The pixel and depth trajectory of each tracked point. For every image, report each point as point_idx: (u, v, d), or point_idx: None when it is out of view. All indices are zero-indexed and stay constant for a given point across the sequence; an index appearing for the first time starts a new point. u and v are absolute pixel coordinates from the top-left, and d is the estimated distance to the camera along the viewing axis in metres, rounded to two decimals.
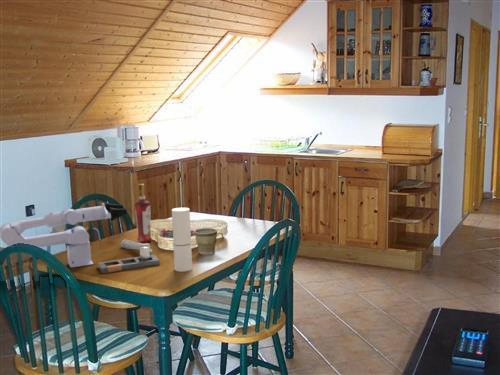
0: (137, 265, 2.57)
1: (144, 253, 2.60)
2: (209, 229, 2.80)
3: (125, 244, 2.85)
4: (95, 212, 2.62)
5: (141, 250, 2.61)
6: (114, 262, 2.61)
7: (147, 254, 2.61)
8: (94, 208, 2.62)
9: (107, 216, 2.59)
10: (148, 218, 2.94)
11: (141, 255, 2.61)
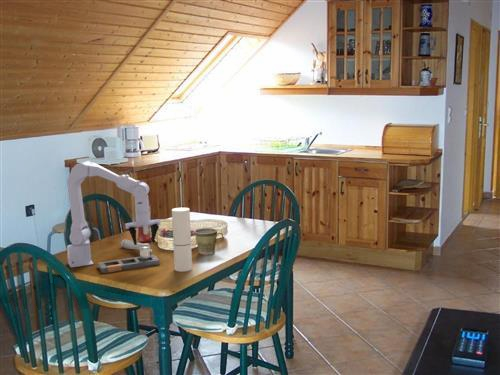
0: (137, 265, 2.57)
1: (143, 253, 2.60)
2: (209, 229, 2.80)
3: (125, 244, 2.85)
4: (136, 214, 2.57)
5: (141, 250, 2.61)
6: (114, 262, 2.61)
7: (147, 254, 2.61)
8: (141, 214, 2.57)
9: (125, 225, 2.57)
10: None
11: (141, 255, 2.61)
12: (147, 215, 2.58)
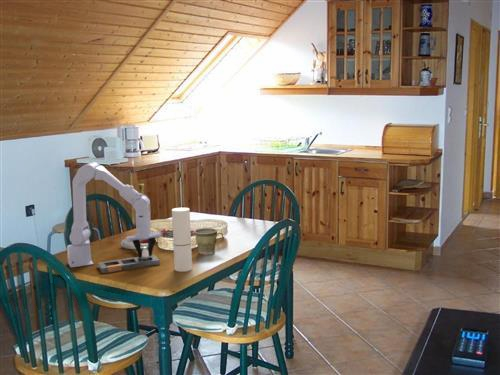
0: (137, 265, 2.57)
1: (144, 253, 2.60)
2: (209, 229, 2.80)
3: (125, 244, 2.85)
4: (137, 228, 2.58)
5: (141, 250, 2.61)
6: (114, 262, 2.61)
7: (147, 254, 2.61)
8: (141, 228, 2.58)
9: (126, 238, 2.58)
10: None
11: (141, 255, 2.61)
12: (148, 228, 2.59)
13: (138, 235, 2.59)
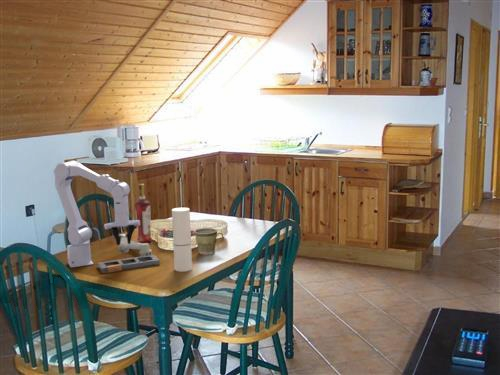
0: (137, 265, 2.57)
1: (122, 241, 2.56)
2: (209, 229, 2.80)
3: None
4: (116, 215, 2.54)
5: (120, 237, 2.56)
6: (114, 262, 2.61)
7: (126, 242, 2.57)
8: (120, 215, 2.53)
9: (104, 225, 2.54)
10: (148, 218, 2.94)
11: (120, 243, 2.56)
12: (126, 215, 2.54)
13: (116, 222, 2.54)
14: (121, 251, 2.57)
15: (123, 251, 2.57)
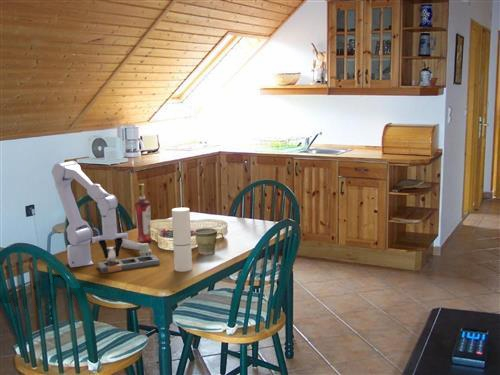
0: (137, 265, 2.57)
1: (110, 254, 2.54)
2: (209, 229, 2.80)
3: (125, 244, 2.85)
4: (103, 228, 2.53)
5: (107, 251, 2.55)
6: None
7: (114, 255, 2.55)
8: (107, 228, 2.52)
9: (92, 238, 2.52)
10: (148, 218, 2.94)
11: (108, 256, 2.55)
12: (114, 228, 2.53)
13: (104, 235, 2.53)
14: (109, 264, 2.55)
15: (111, 264, 2.55)
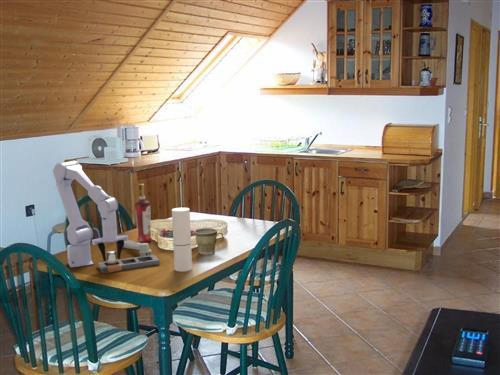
0: (137, 265, 2.57)
1: (110, 258, 2.55)
2: (209, 229, 2.80)
3: (124, 244, 2.85)
4: (103, 230, 2.53)
5: (108, 255, 2.55)
6: None
7: (114, 259, 2.56)
8: (107, 230, 2.52)
9: (92, 241, 2.53)
10: (148, 218, 2.94)
11: (108, 260, 2.55)
12: (114, 231, 2.53)
13: (104, 238, 2.53)
14: None
15: None
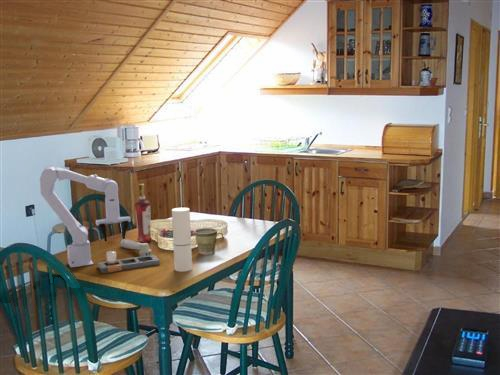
0: (137, 265, 2.57)
1: (110, 258, 2.55)
2: (209, 229, 2.80)
3: (124, 244, 2.85)
4: (106, 211, 2.62)
5: (108, 255, 2.55)
6: None
7: (114, 259, 2.56)
8: (110, 211, 2.62)
9: (96, 221, 2.62)
10: (148, 218, 2.94)
11: (108, 260, 2.55)
12: (117, 212, 2.63)
13: (107, 218, 2.63)
14: None
15: None
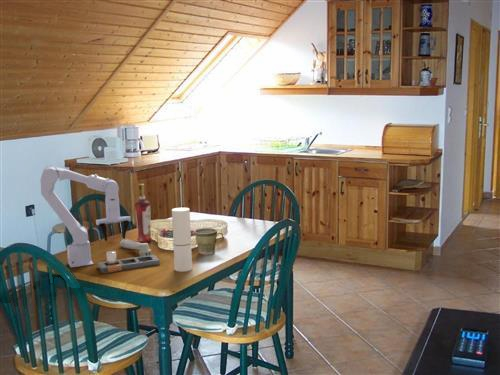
0: (137, 265, 2.57)
1: (110, 258, 2.55)
2: (209, 229, 2.80)
3: (124, 244, 2.86)
4: (107, 211, 2.63)
5: (108, 255, 2.55)
6: None
7: (114, 259, 2.56)
8: (111, 211, 2.62)
9: (96, 221, 2.63)
10: (148, 218, 2.94)
11: (108, 260, 2.55)
12: (117, 212, 2.64)
13: (108, 218, 2.64)
14: None
15: None
